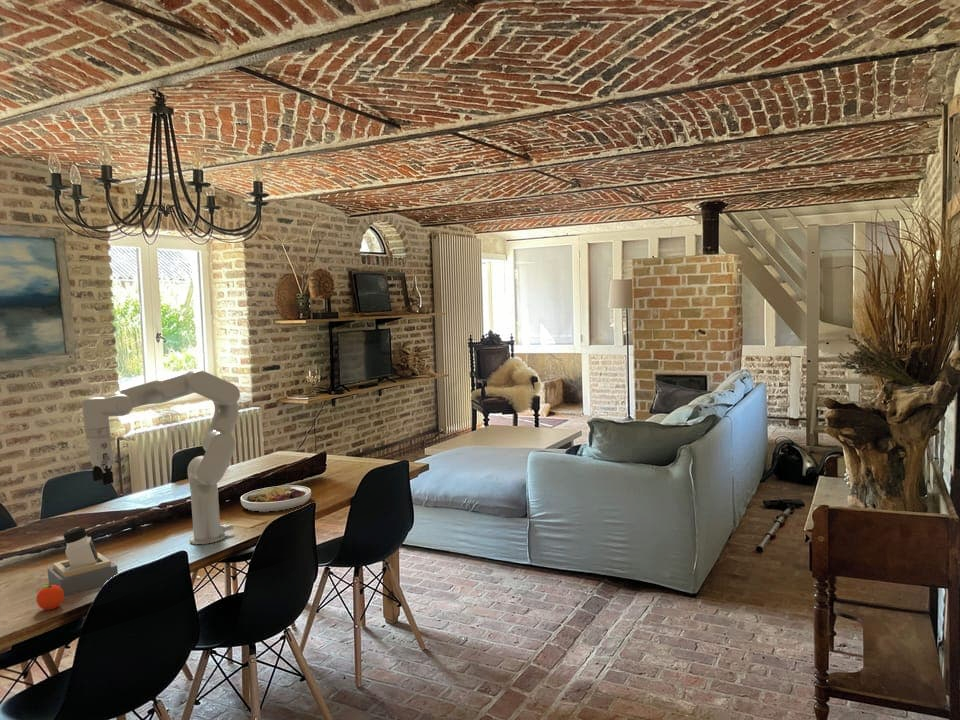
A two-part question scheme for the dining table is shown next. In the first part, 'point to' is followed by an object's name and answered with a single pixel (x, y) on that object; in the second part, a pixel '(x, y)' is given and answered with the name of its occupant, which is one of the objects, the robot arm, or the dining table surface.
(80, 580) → the block
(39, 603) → the clementine
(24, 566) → the dining table surface
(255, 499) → the bowl
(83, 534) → the medicine bottle
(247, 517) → the dining table surface
